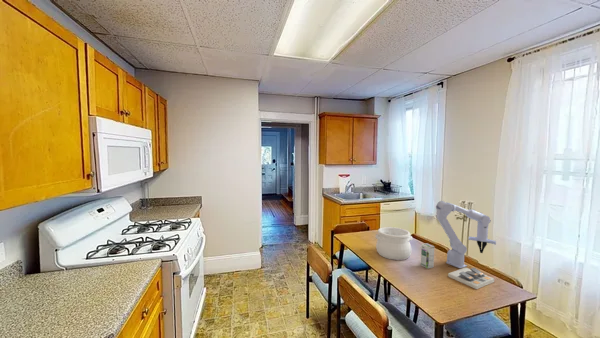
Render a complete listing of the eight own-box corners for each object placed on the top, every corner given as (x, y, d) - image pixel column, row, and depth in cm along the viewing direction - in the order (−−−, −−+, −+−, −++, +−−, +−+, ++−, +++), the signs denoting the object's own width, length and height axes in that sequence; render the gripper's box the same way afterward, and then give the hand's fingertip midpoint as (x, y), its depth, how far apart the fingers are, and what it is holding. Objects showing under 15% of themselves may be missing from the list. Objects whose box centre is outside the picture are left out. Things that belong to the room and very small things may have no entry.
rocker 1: (459, 273, 148) (459, 272, 148) (463, 272, 150) (463, 271, 149) (469, 280, 143) (469, 279, 143) (473, 278, 145) (473, 277, 144)
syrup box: (420, 265, 168) (420, 243, 167) (426, 263, 170) (427, 242, 169) (427, 268, 162) (428, 246, 162) (433, 267, 165) (434, 245, 164)
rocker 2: (464, 273, 150) (464, 272, 150) (468, 272, 152) (468, 270, 152) (475, 276, 145) (475, 275, 145) (479, 275, 147) (479, 273, 147)
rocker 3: (470, 269, 153) (470, 268, 153) (473, 268, 155) (474, 267, 154) (480, 276, 148) (480, 275, 148) (483, 275, 150) (484, 273, 149)
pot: (406, 249, 196) (406, 227, 195) (417, 262, 172) (418, 237, 171) (372, 247, 199) (372, 226, 198) (378, 260, 174) (379, 236, 173)
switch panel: (448, 276, 152) (448, 273, 152) (465, 270, 160) (465, 267, 160) (476, 289, 138) (476, 285, 138) (494, 281, 146) (494, 278, 146)
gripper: (468, 231, 166) (467, 251, 167) (496, 236, 157) (495, 257, 158) (469, 229, 172) (468, 248, 173) (496, 233, 163) (495, 253, 164)
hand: (481, 252), depth 166 cm, fingers closed
